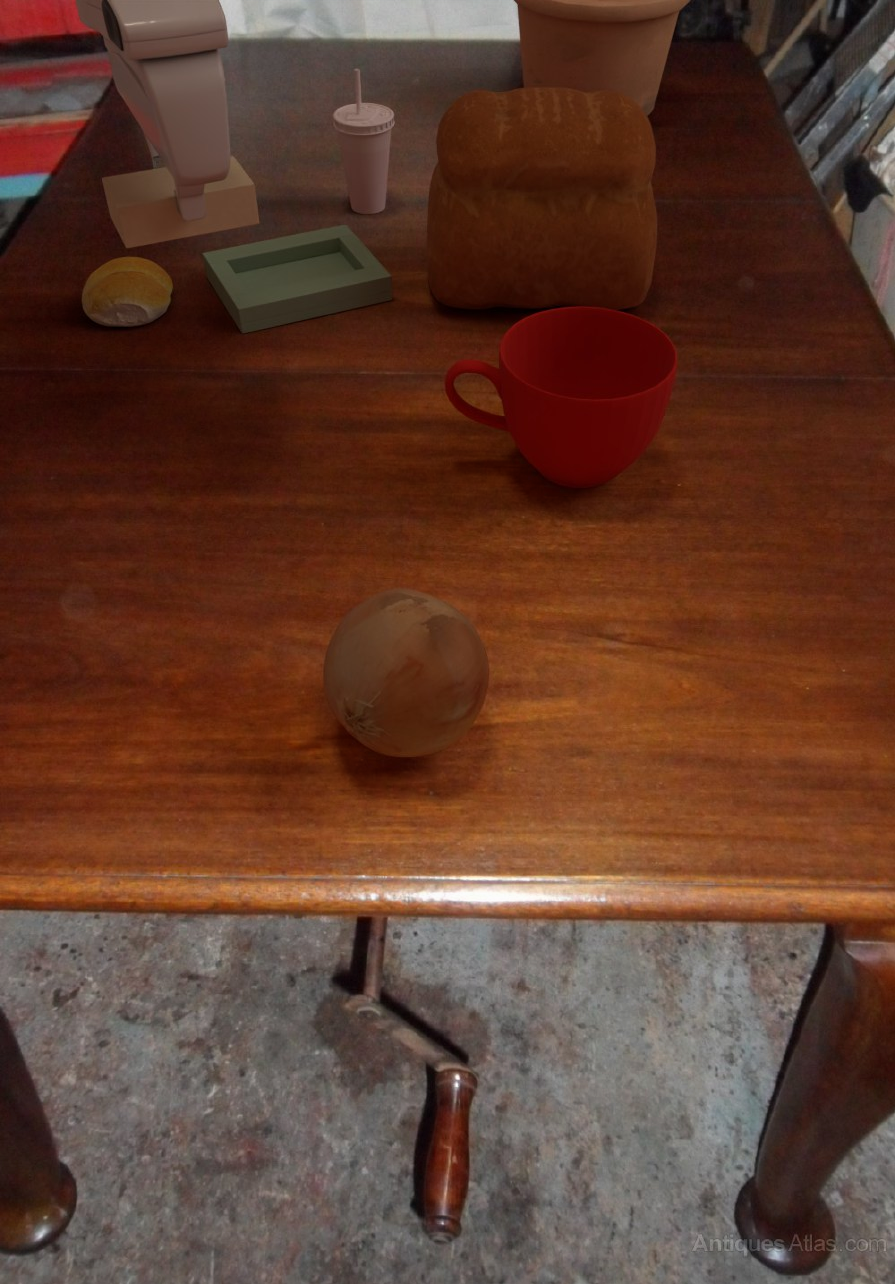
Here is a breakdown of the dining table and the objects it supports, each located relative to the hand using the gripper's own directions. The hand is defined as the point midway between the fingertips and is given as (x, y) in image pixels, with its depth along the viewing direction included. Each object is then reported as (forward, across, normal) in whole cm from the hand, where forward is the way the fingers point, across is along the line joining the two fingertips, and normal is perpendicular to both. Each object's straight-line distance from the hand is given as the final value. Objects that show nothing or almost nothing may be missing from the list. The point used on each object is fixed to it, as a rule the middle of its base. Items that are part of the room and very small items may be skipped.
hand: (180, 198), depth 79 cm
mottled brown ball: (+17, +40, +1) cm, 44 cm away
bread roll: (+17, -18, -3) cm, 25 cm away
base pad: (+17, -15, +12) cm, 25 cm away
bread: (+17, -7, +34) cm, 39 cm away
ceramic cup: (+17, +20, +22) cm, 34 cm away
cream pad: (+2, 0, 0) cm, 2 cm away
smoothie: (+17, -29, +25) cm, 42 cm away
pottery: (+17, -45, +62) cm, 79 cm away
